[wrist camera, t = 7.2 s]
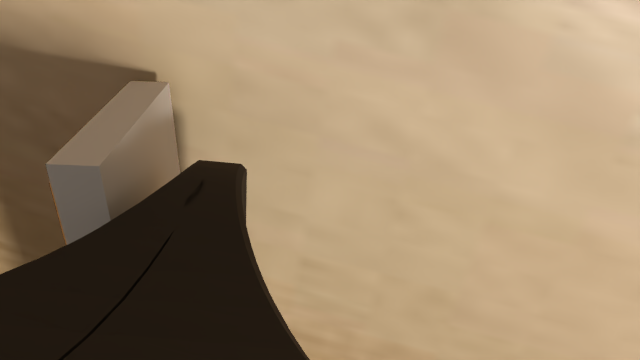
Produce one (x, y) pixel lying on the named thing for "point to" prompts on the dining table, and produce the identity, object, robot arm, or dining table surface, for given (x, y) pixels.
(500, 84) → the dining table surface
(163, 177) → the side door
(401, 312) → the dining table surface
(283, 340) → the robot arm
